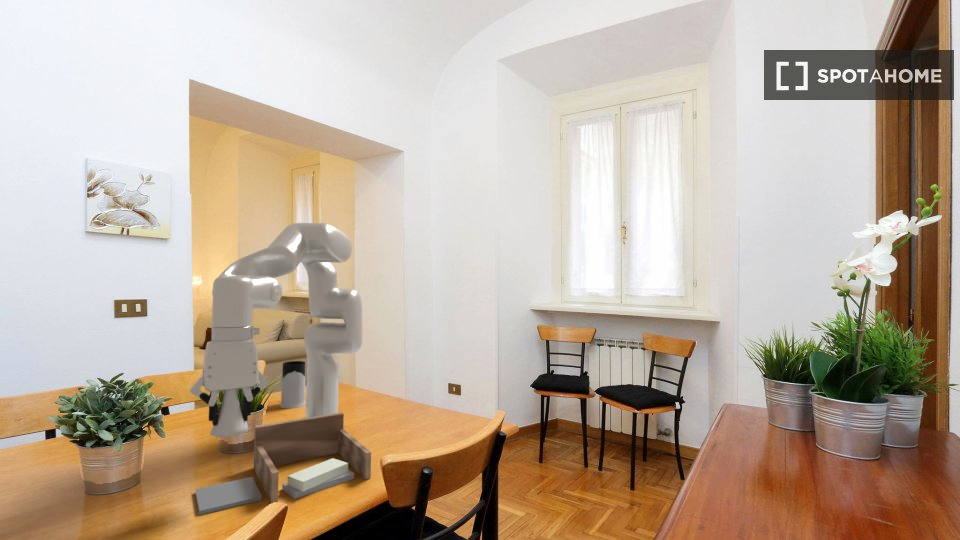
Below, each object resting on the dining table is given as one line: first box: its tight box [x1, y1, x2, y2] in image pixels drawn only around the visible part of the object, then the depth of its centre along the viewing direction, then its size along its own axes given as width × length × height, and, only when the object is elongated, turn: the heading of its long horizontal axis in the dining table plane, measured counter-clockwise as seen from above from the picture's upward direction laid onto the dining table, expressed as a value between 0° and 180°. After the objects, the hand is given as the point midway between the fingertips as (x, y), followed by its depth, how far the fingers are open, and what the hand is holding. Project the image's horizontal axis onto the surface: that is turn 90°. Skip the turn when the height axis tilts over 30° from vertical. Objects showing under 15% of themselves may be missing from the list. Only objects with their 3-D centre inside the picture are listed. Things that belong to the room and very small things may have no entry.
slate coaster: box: [194, 476, 263, 516], centre depth 96 cm, size 11×11×1 cm
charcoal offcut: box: [281, 469, 355, 500], centre depth 103 cm, size 6×14×2 cm, turn 137°
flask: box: [209, 389, 249, 438], centre depth 97 cm, size 7×7×10 cm
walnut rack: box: [253, 412, 372, 504], centre depth 109 cm, size 21×21×10 cm
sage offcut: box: [287, 457, 349, 491], centre depth 103 cm, size 5×12×2 cm, turn 147°
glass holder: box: [279, 360, 306, 409], centre depth 168 cm, size 9×14×15 cm, turn 25°
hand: (229, 420), depth 97 cm, fingers closed on flask, 4 cm apart
